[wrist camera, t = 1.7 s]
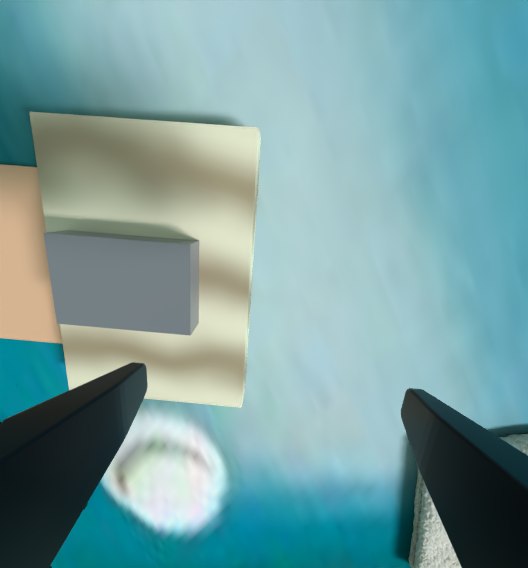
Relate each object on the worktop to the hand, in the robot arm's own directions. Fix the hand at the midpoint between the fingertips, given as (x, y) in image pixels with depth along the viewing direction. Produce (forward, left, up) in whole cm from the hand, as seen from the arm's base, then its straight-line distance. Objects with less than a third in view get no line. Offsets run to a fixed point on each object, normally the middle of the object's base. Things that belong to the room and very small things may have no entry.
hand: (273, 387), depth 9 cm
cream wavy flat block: (0, +9, -13) cm, 16 cm away
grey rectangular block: (0, +10, -11) cm, 15 cm away
